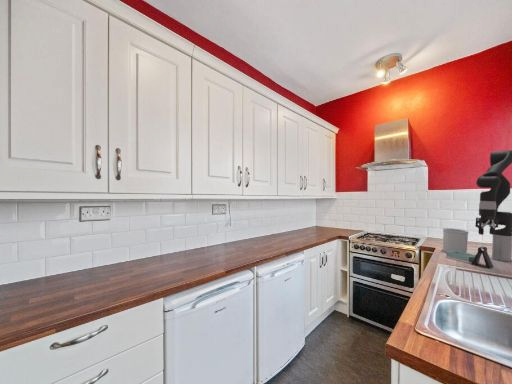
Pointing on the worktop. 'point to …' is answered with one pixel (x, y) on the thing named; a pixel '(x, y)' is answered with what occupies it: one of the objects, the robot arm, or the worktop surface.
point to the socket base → (461, 256)
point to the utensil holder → (455, 240)
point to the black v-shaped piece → (485, 256)
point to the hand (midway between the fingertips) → (486, 234)
